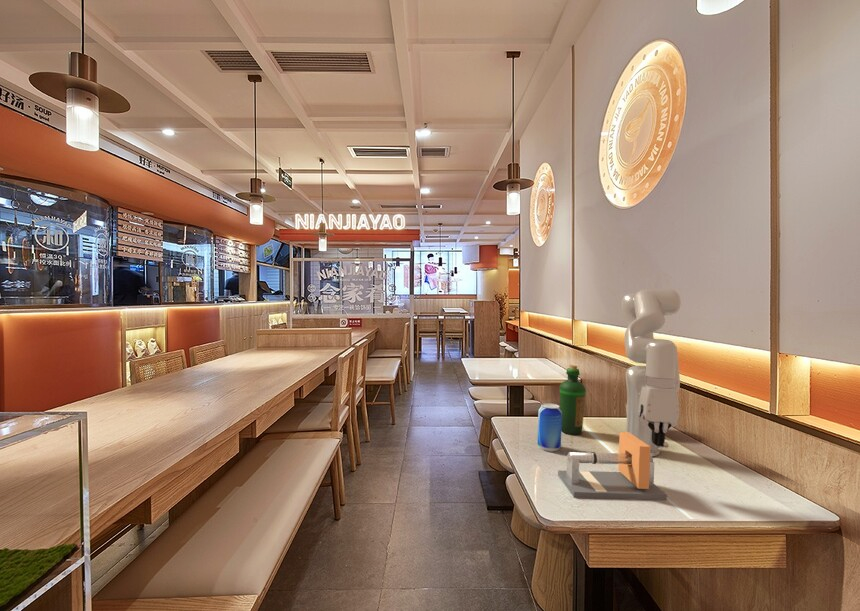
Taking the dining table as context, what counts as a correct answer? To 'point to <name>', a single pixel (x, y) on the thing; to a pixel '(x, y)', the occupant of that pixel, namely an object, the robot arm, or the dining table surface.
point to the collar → (635, 460)
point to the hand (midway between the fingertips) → (657, 444)
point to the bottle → (572, 402)
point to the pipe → (599, 458)
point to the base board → (608, 486)
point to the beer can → (549, 427)
